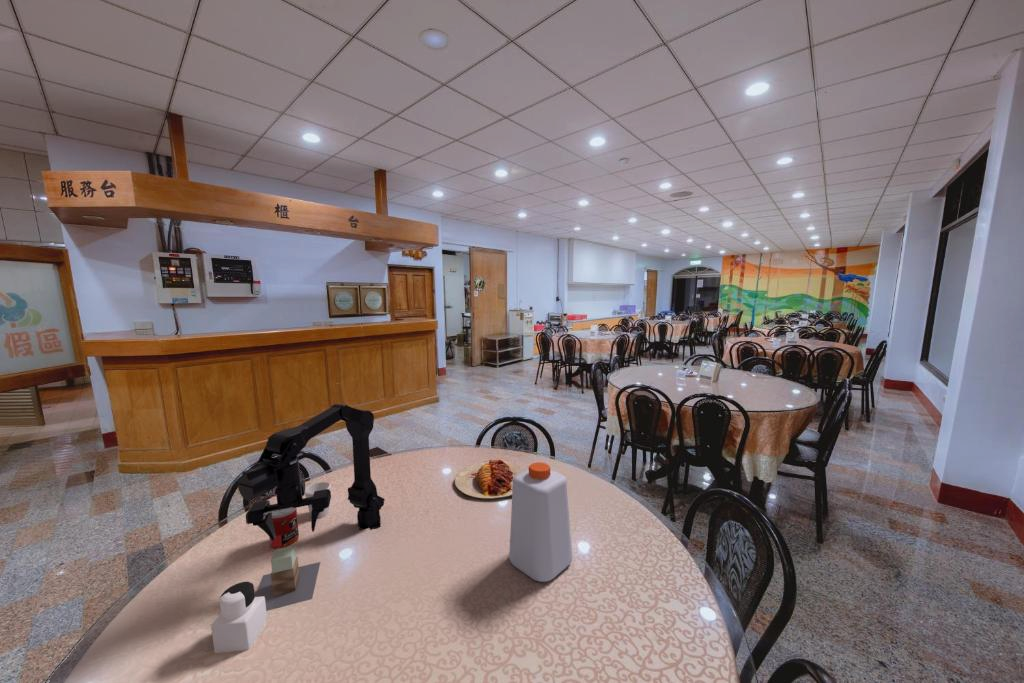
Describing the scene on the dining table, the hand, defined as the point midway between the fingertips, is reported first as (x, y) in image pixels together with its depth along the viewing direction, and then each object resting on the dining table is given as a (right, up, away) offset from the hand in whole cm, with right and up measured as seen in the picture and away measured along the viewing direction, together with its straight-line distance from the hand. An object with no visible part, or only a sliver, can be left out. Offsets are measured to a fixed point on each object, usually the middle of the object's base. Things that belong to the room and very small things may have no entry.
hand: (294, 535), depth 98 cm
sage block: (-1, -6, -3) cm, 7 cm away
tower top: (-1, -9, -3) cm, 10 cm away
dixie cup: (-10, -10, +32) cm, 34 cm away
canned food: (-13, -11, +17) cm, 24 cm away
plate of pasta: (+53, -6, +53) cm, 75 cm away
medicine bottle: (-2, -15, -16) cm, 22 cm away
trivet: (-1, -13, -2) cm, 13 cm away
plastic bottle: (+67, -11, +6) cm, 68 cm away
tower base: (-1, -12, -2) cm, 13 cm away
